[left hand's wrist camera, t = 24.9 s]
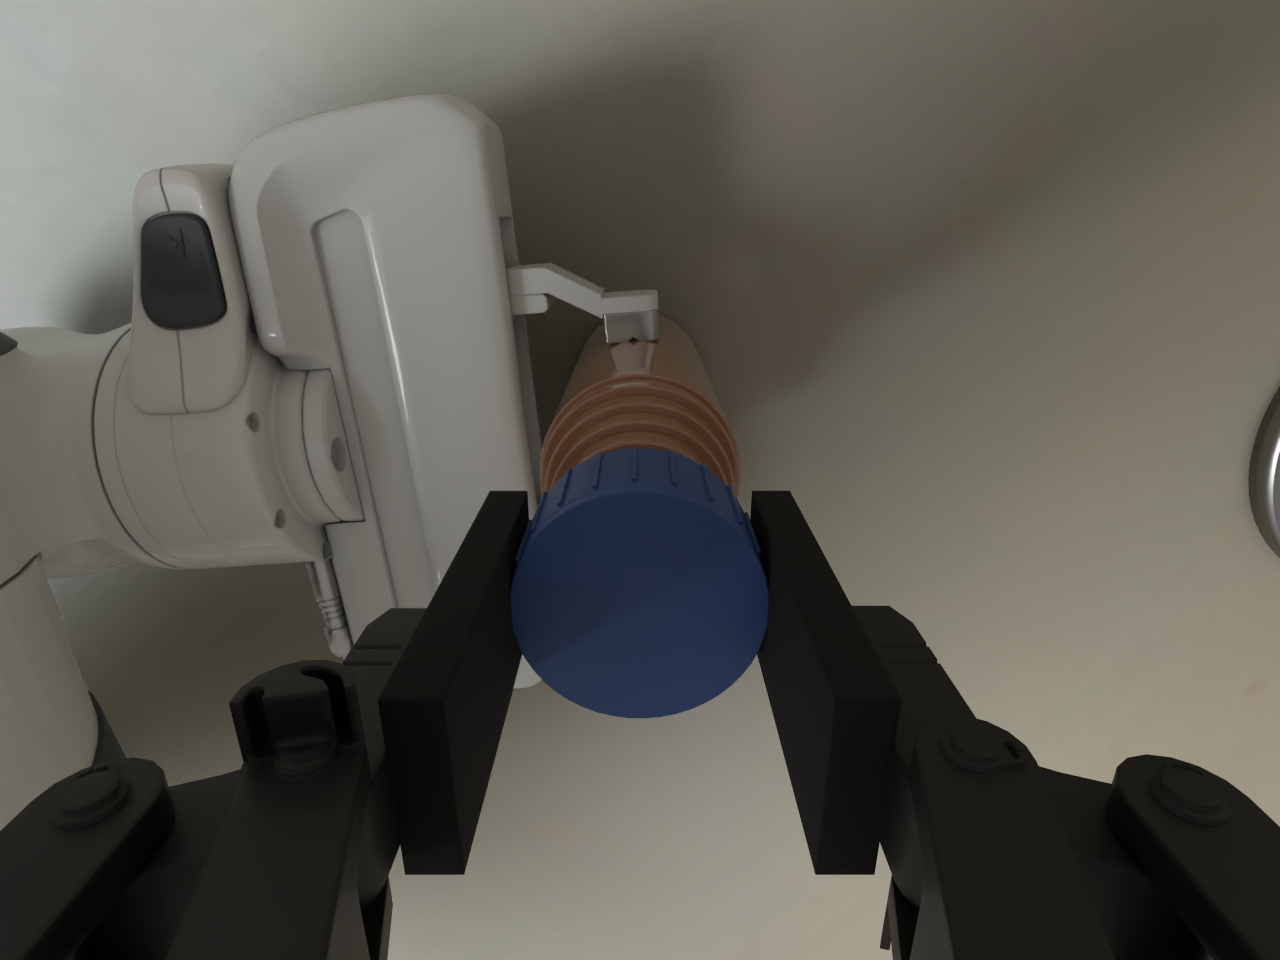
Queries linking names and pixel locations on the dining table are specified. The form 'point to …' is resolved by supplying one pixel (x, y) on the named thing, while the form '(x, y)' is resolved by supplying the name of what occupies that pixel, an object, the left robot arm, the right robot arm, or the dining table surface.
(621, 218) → the dining table surface
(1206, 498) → the dining table surface
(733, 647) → the cap
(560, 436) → the bottle
